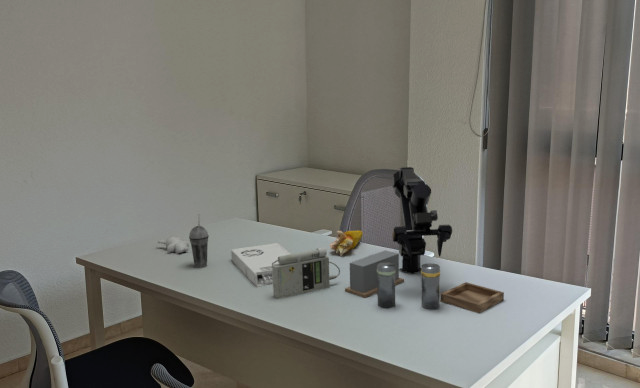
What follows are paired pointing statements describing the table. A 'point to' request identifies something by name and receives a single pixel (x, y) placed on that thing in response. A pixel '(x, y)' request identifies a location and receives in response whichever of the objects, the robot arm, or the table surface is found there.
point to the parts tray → (472, 297)
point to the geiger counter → (301, 273)
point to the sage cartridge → (386, 284)
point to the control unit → (370, 273)
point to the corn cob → (346, 241)
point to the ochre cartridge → (430, 286)
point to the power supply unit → (258, 261)
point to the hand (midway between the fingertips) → (425, 256)
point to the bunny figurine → (175, 244)
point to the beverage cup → (199, 245)
